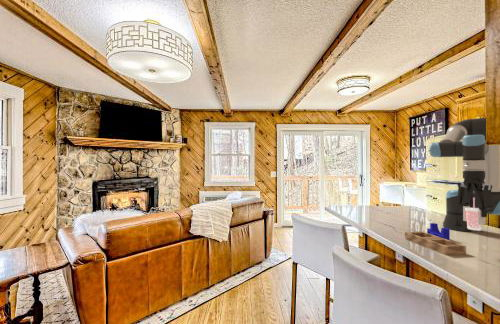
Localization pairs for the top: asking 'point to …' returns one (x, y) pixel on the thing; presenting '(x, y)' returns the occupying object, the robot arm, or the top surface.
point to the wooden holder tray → (436, 243)
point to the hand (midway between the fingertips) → (474, 222)
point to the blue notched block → (435, 231)
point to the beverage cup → (472, 217)
